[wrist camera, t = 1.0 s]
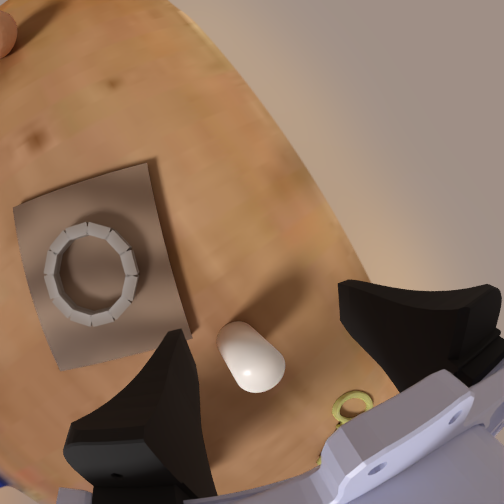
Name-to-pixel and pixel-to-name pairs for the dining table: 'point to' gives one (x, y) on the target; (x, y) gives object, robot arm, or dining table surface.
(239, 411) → the dining table surface
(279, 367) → the white rounded capsule
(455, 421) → the robot arm
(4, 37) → the egg
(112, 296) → the socket board
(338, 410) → the key
